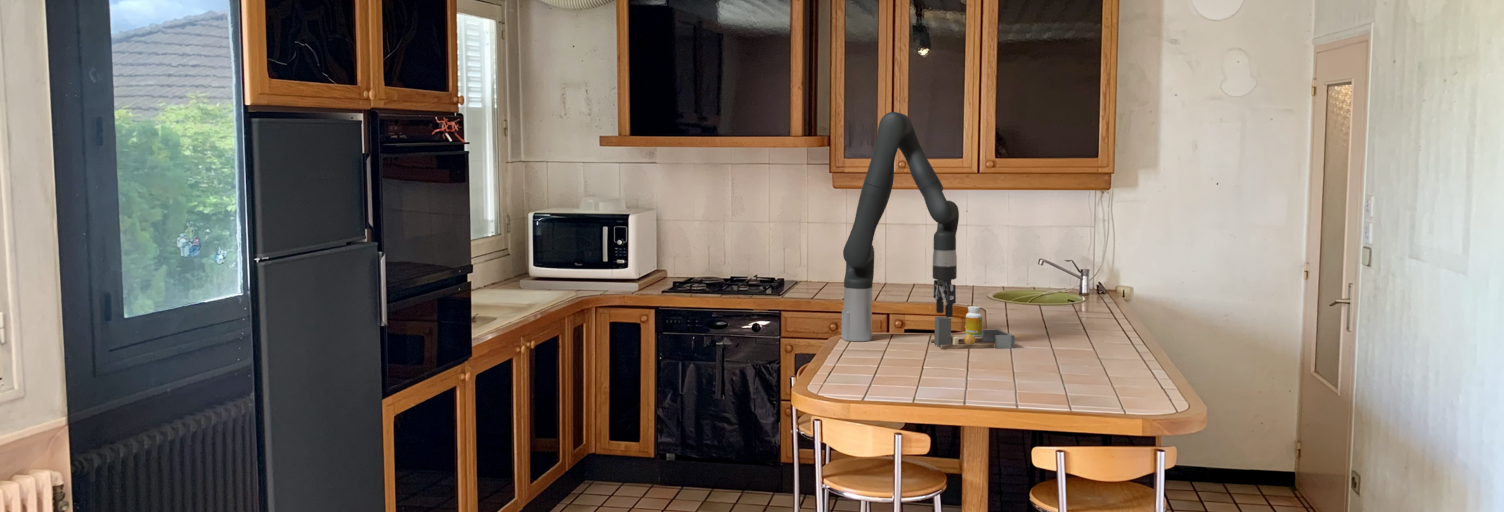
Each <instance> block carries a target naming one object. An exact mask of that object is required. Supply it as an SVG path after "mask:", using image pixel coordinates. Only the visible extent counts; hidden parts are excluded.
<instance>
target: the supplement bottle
mask: <svg viewBox="0 0 1504 512" xmlns="http://www.w3.org/2000/svg"><path fill="white" fill-rule="evenodd" d="M967 311H968V312H967V313H966V314H965V331H964V332H965V334H966V335H968V334H971V335H973V336H974V337H975V338H976V337H977V338H980V337H982V329H983V314H982V313H981V307H980V306H977V305H976V306H975V305H973V306H972V305H970V306H969V305H968V307H967ZM966 335H965V336H966Z"/></svg>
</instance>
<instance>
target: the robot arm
mask: <svg viewBox="0 0 1504 512" xmlns="http://www.w3.org/2000/svg"><path fill="white" fill-rule="evenodd" d="M898 149H899V150H900V151H901V153H902V155H903V157H904V159H905V161H906V163H907V166H908V169H909V172H910V174H911V177H912V179H913V181H914V183H915V184H916V186H917V189H918V190H919V192H920V194H921V195H922V197H923V199H924V202H925V206H926V208H927V211H928V213H929V214H930V215H929V216H931V218H932V220H933V221H935V222H936V223H937V227H936V231H935V232H934V234H933V253H932V279H934V280H933V296H932V297H933V299H934V300H935V302H936V303H935V309H936V310H935V312H936V313H938V314H943V313H944V315H945V316H944V317H949V318H952V317H953V316H954V315H953V313H954V311H953V309H954V307H953V305H955V304H956V303H957V301H956V299H957V297H956V295H957V293H956V292H957V291H956V290H957V289H956V287H957V286H956V284H953V283H952V281H953V280H956V279H957V274H958V273H957V272H958V270H957V266H958V265H957V264H958V262H957V261H958V260H957V259H958V257H957V250H956V249H957V232H958V225H959V221H960V220H959V219H960V210H959V207H958V205H957V204H956V203H955V202H954V201H952V200H947V199H946V197H945V195H944V193H943V190H944V187H943V185H942V182H941V180H940V178H939V177H938V175H937V174H936V172H935V170H934V168H933V167H932V165H931V163H930V161H929V160H928V158H927V156H926V155H925V152H924V151H923V149H922V146H921V144H920V142H919V140H918V137H917V135H916V132H915V129H914V126H913V124H912V121H911V119H910V117H908V115H906V114H904V113H901V112H896V111H891V112H890V111H889V112H887V113H886V114H885V115H883V116H882V117H881V119H880V121H879V124H878V127H877V133H876V140H875V145H874V150H873V153H872V156H871V159H870V162H869V165H868V168H867V171H866V174H865V178H864V181H863V184H862V187H861V191H860V195H859V199H858V203H857V207H856V213H855V217H854V222H853V224H852V228H851V230H850V233H849V235H848V238H847V240H846V243H845V245H844V247H843V249H842V255H843V259H844V262H845V274H844V279H843V309H841V339H843V340H844V341H845V342H846V341H847V342H849V341H850V342H868V341H869V342H870V341H871V340H872V335H873V334H872V331H873V330H872V329H873V328H872V325H873V323H872V322H873V321H872V320H873V281H874V275H875V274H874V273H875V271H874V270H875V248H874V245H873V243H874V242H873V241H874V236H875V233H876V229H877V227H878V225H879V222H880V221H881V218H882V216H883V215H884V213H885V210H886V208H887V205H888V202H889V199H890V197H891V193H892V189H893V185H894V180H895V179H894V178H895V161H896V160H895V159H896V156H897V153H898ZM944 309H945V310H944Z"/></svg>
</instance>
